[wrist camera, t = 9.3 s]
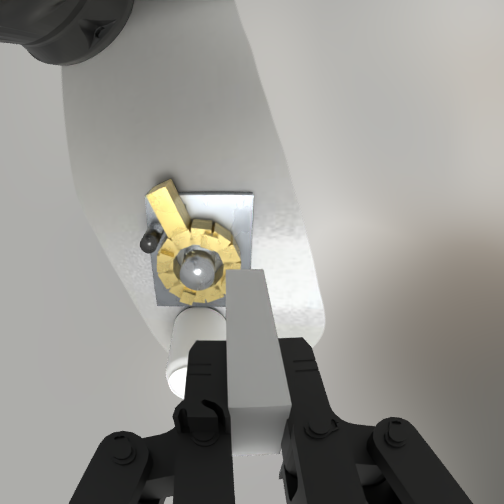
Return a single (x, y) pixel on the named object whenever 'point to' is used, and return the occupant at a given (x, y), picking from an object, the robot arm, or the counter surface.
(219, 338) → the beverage can
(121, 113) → the counter surface
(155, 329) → the counter surface
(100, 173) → the counter surface
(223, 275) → the segmented ring with handle
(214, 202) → the plate
